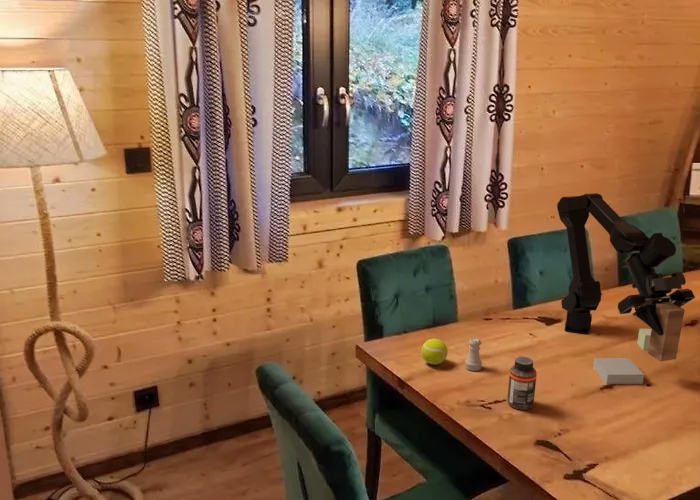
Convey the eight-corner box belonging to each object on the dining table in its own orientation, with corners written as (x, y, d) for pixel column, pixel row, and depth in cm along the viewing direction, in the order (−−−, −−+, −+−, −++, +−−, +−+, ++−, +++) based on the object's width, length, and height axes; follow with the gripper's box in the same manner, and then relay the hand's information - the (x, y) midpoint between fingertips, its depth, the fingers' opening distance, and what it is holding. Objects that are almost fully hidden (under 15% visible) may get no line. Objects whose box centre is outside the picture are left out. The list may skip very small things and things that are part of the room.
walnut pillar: (647, 353, 168) (655, 304, 164) (662, 351, 170) (670, 302, 166) (660, 361, 164) (669, 311, 160) (675, 359, 165) (684, 309, 162)
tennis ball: (424, 370, 173) (425, 345, 171) (418, 358, 179) (419, 334, 177) (449, 368, 174) (451, 344, 172) (442, 357, 180) (444, 333, 178)
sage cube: (642, 350, 186) (645, 335, 185) (637, 343, 190) (639, 328, 189) (659, 350, 186) (662, 335, 184) (653, 343, 190) (656, 329, 189)
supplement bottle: (512, 395, 161) (516, 351, 158) (537, 402, 158) (541, 358, 155) (502, 405, 156) (506, 361, 153) (527, 413, 153) (532, 368, 150)
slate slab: (592, 368, 176) (594, 358, 175) (627, 368, 176) (628, 358, 175) (606, 385, 167) (607, 374, 166) (642, 385, 168) (644, 374, 167)
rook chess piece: (481, 372, 172) (484, 343, 170) (463, 370, 173) (465, 341, 171) (482, 364, 176) (484, 336, 174) (464, 362, 177) (466, 334, 175)
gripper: (632, 264, 161) (658, 325, 154) (695, 257, 166) (724, 316, 159) (606, 284, 170) (630, 342, 163) (667, 277, 176) (692, 334, 169)
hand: (669, 333), depth 164 cm, fingers closed on walnut pillar, 4 cm apart
